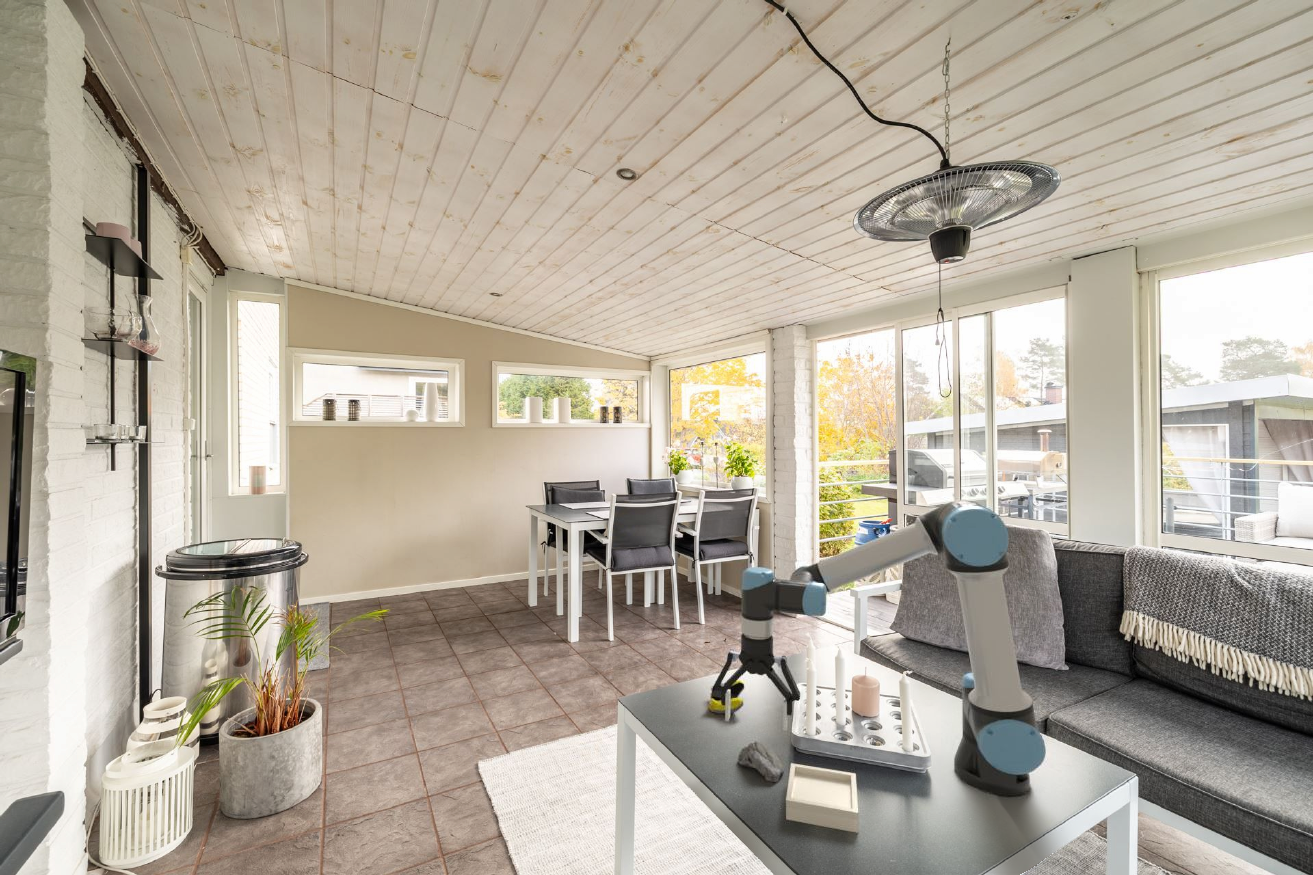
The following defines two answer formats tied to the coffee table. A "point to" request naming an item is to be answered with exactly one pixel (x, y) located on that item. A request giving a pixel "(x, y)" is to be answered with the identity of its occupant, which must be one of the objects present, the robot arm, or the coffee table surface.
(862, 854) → the coffee table surface
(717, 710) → the yellow black shoe
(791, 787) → the small open wooden box
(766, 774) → the grey rock
